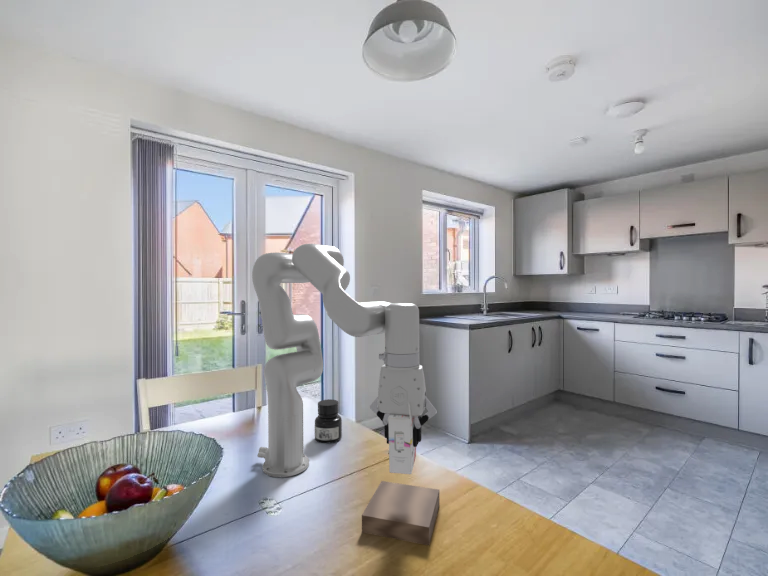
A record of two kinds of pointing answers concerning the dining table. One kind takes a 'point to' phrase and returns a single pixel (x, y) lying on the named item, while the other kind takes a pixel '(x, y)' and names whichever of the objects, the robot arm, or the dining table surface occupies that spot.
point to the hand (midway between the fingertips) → (402, 442)
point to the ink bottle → (328, 422)
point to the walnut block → (402, 512)
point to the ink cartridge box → (401, 443)
